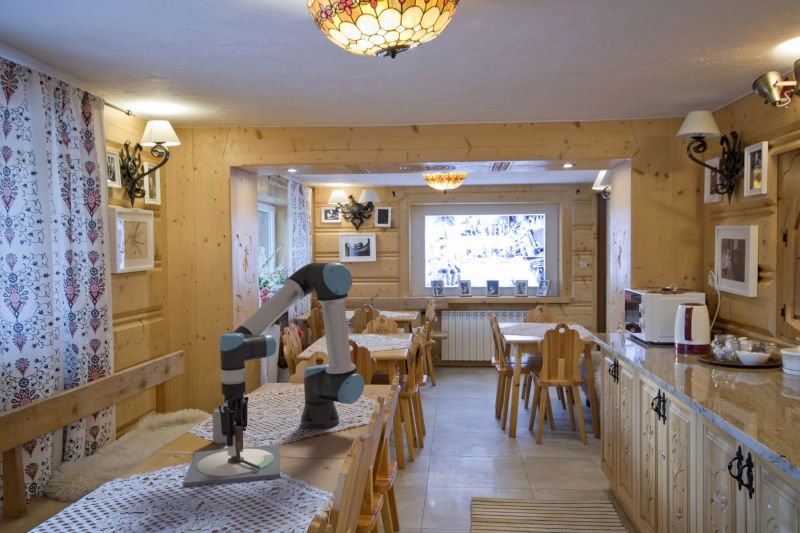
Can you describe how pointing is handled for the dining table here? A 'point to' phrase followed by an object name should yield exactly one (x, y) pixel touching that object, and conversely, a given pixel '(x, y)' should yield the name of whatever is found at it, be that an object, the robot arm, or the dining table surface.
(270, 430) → the dining table surface
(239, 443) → the dial pointer knob
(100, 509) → the dining table surface
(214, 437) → the can
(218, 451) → the dial board
